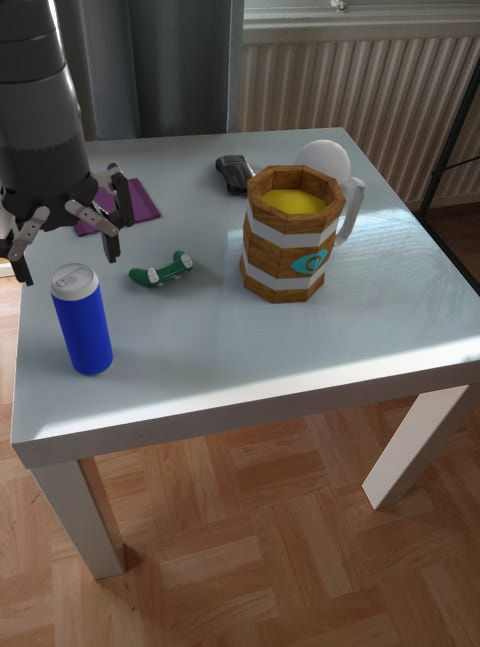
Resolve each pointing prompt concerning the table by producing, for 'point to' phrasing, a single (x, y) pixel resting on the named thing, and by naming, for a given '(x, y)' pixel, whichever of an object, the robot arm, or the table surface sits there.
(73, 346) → the beverage can
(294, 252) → the mug
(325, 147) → the ball
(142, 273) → the gaming controller
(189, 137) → the table surface
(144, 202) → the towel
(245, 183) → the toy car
